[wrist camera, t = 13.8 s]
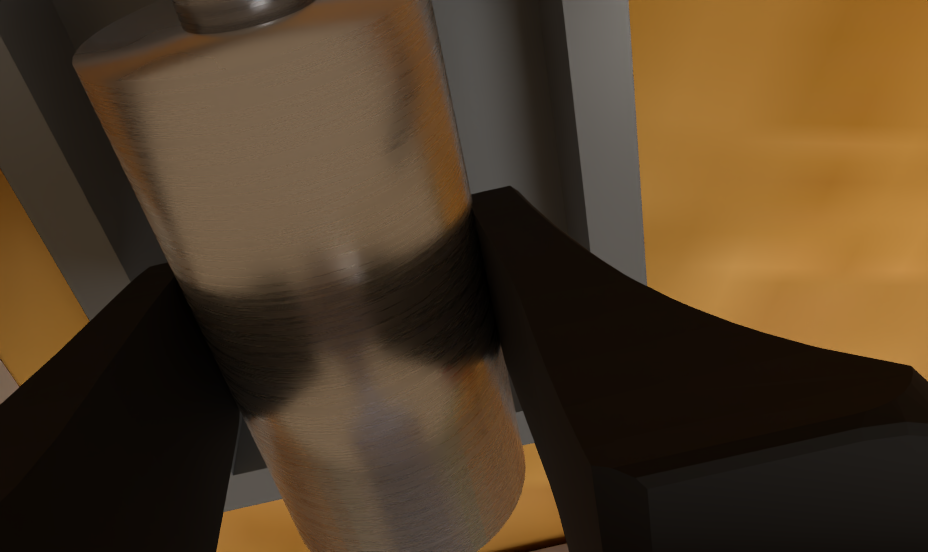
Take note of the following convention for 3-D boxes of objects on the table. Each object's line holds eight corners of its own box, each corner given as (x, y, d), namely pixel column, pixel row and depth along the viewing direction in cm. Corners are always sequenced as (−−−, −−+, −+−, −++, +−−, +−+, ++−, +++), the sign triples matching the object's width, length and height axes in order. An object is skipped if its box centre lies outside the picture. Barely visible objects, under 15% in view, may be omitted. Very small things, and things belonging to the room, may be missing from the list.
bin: (616, 330, 19) (655, 415, 17) (222, 419, 19) (204, 516, 17) (553, -316, 12) (606, -333, 10) (-78, -172, 12) (-189, -152, 10)
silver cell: (559, 416, 14) (461, 616, 11) (371, 377, 16) (246, 540, 13) (475, -112, 9) (263, 10, 6) (216, -81, 11) (-37, 24, 8)
